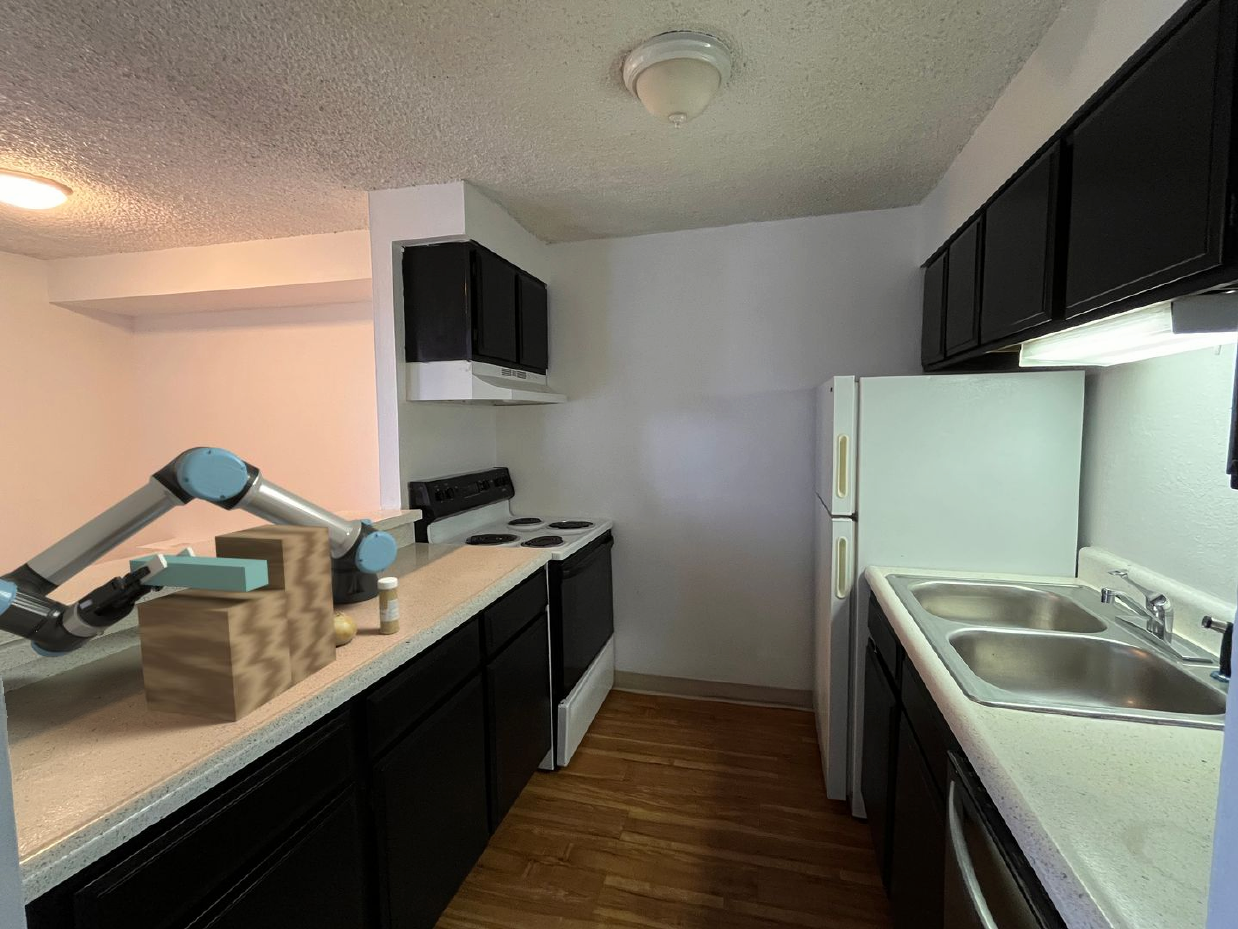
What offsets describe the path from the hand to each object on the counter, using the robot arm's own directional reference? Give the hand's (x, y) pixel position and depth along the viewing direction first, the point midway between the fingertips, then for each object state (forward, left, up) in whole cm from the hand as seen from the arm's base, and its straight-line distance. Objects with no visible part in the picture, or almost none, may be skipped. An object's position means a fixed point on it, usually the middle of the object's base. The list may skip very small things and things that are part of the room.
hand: (177, 557), depth 97 cm
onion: (-27, +10, -28) cm, 40 cm away
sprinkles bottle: (-35, +18, -28) cm, 48 cm away
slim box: (0, +5, -5) cm, 7 cm away
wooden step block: (-7, +6, -28) cm, 29 cm away
